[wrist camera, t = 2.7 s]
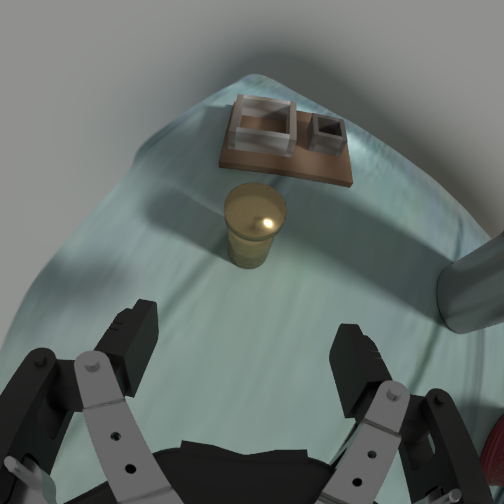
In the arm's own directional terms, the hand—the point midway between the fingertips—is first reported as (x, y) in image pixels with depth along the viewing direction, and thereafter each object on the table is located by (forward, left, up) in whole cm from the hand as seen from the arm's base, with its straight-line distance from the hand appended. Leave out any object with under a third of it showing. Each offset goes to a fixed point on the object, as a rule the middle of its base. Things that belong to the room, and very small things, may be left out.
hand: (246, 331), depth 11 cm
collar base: (-4, -26, -14) cm, 29 cm away
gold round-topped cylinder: (0, -10, -14) cm, 17 cm away
